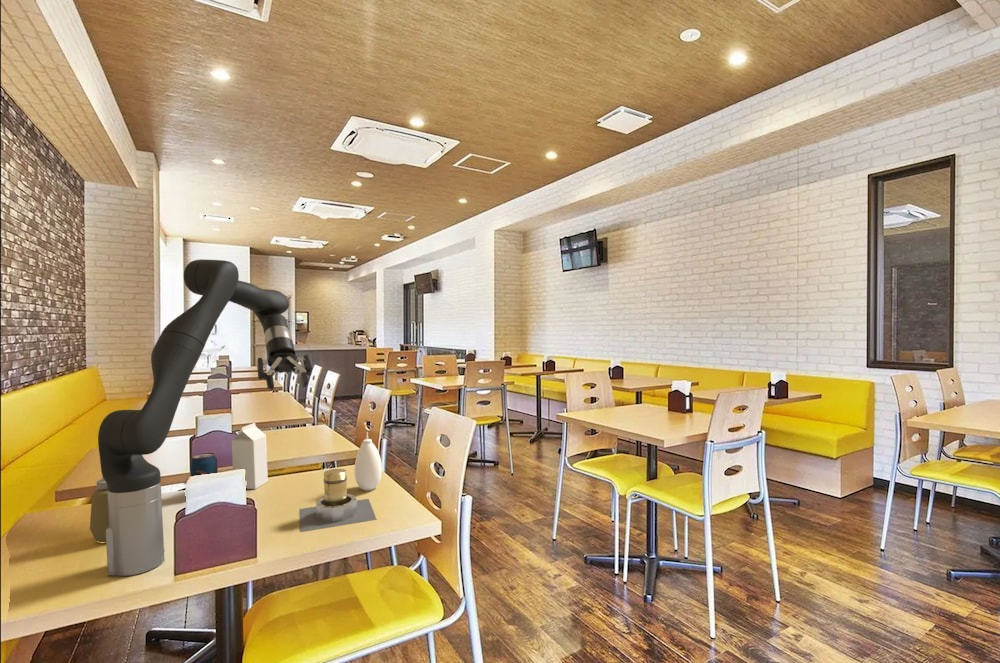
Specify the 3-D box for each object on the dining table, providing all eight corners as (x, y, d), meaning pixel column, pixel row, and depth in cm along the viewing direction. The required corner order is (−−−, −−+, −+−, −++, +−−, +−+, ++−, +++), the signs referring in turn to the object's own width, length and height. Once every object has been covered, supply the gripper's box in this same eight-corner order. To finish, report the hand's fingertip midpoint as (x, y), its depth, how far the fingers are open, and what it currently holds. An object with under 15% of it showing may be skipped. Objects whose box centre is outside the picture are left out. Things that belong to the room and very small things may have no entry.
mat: (300, 535, 123) (299, 532, 123) (299, 511, 138) (299, 508, 138) (376, 522, 130) (376, 519, 130) (368, 501, 145) (368, 498, 145)
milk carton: (268, 481, 164) (265, 422, 164) (255, 489, 157) (252, 427, 157) (247, 481, 165) (244, 422, 164) (233, 489, 158) (230, 427, 157)
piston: (325, 519, 130) (324, 476, 130) (324, 511, 136) (322, 470, 135) (348, 516, 133) (347, 473, 132) (346, 508, 138) (345, 467, 137)
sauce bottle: (385, 486, 157) (383, 427, 157) (378, 495, 150) (376, 433, 149) (360, 486, 158) (358, 428, 157) (351, 495, 150) (349, 434, 149)
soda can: (186, 499, 150) (184, 458, 149) (201, 491, 157) (199, 452, 156) (208, 499, 149) (207, 458, 149) (223, 491, 156) (221, 452, 156)
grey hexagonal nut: (317, 524, 128) (316, 510, 128) (315, 510, 137) (315, 497, 137) (358, 517, 131) (358, 504, 131) (354, 504, 141) (354, 491, 140)
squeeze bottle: (97, 535, 126) (94, 462, 126) (136, 529, 129) (133, 458, 129) (84, 549, 119) (80, 471, 118) (126, 542, 122) (122, 466, 121)
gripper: (254, 336, 148) (262, 380, 138) (306, 334, 155) (317, 376, 146) (252, 354, 152) (260, 398, 143) (302, 351, 160) (313, 392, 151)
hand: (288, 386), depth 145 cm, fingers open, 8 cm apart
